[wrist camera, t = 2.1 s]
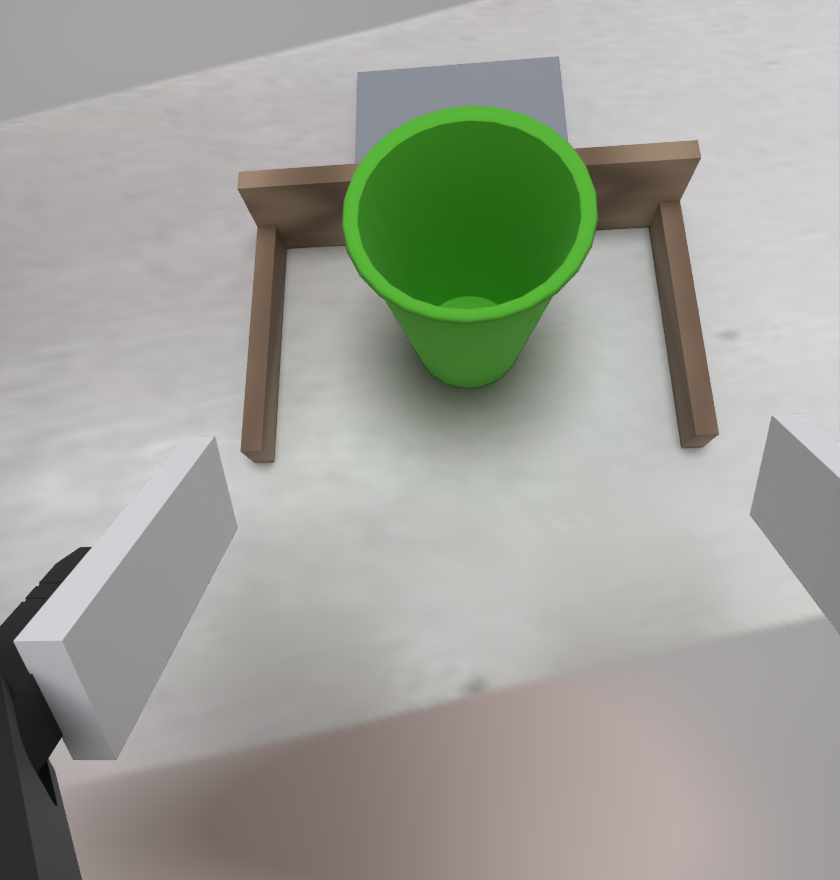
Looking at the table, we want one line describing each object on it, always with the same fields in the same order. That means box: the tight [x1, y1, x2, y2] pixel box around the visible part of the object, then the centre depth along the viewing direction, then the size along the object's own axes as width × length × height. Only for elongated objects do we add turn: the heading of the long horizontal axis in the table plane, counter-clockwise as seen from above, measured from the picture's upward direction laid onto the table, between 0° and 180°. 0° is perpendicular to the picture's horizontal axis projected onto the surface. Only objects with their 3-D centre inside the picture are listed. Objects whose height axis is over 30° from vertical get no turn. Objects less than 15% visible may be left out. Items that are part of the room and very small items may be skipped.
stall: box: [237, 140, 719, 463], centre depth 30 cm, size 22×14×5 cm, turn 91°
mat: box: [356, 57, 568, 164], centre depth 35 cm, size 12×10×1 cm
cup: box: [342, 106, 598, 388], centre depth 27 cm, size 9×9×11 cm
